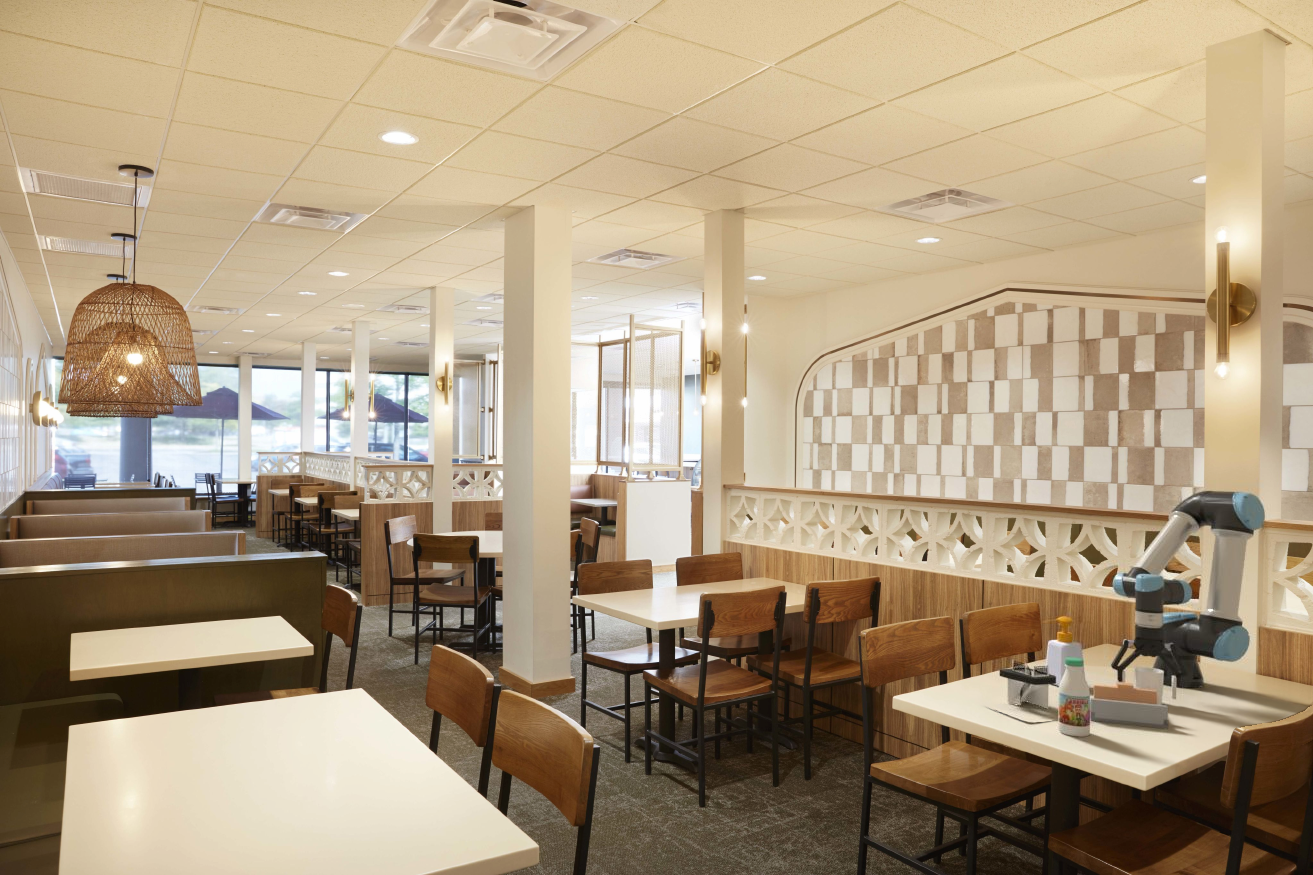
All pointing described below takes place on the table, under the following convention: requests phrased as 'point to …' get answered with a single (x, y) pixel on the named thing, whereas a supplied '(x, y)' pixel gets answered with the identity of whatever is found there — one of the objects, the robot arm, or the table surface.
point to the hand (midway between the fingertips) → (1148, 695)
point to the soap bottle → (1062, 650)
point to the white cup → (1150, 680)
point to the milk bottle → (1074, 700)
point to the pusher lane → (1129, 713)
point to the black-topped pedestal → (1028, 684)
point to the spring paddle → (1125, 693)
